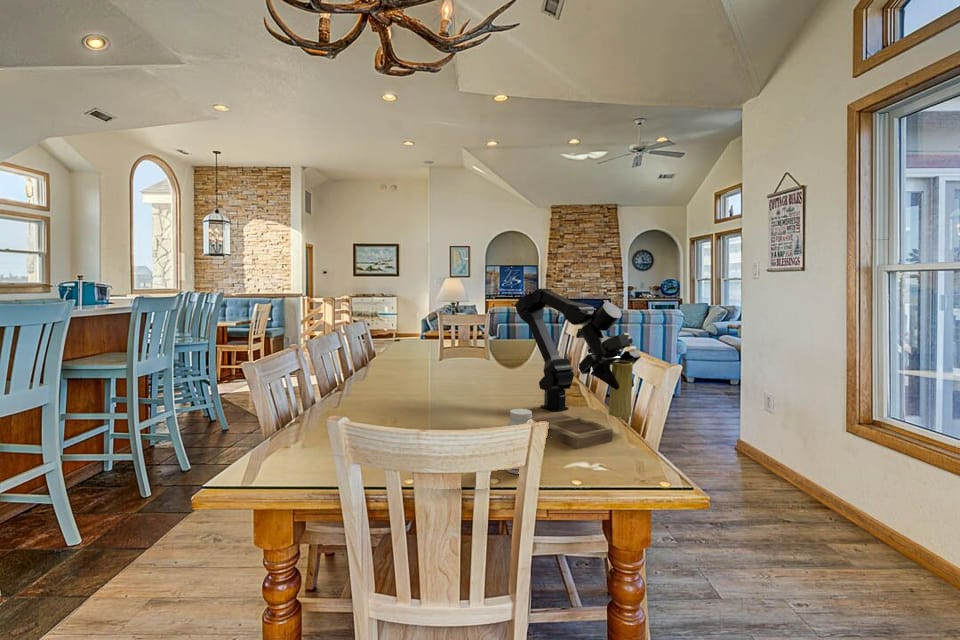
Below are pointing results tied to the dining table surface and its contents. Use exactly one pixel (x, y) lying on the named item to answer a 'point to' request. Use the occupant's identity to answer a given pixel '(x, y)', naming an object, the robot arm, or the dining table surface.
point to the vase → (621, 389)
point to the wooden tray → (575, 430)
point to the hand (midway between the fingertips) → (625, 387)
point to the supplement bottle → (518, 418)
